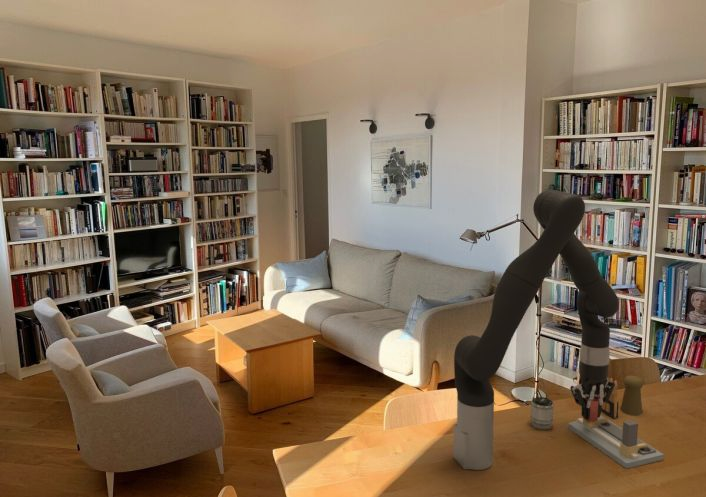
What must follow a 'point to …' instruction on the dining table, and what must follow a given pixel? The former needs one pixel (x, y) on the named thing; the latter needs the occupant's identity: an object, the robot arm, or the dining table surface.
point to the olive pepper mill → (632, 396)
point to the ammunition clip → (611, 403)
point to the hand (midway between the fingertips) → (591, 417)
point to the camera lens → (542, 413)
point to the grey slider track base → (618, 442)
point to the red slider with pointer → (593, 415)
